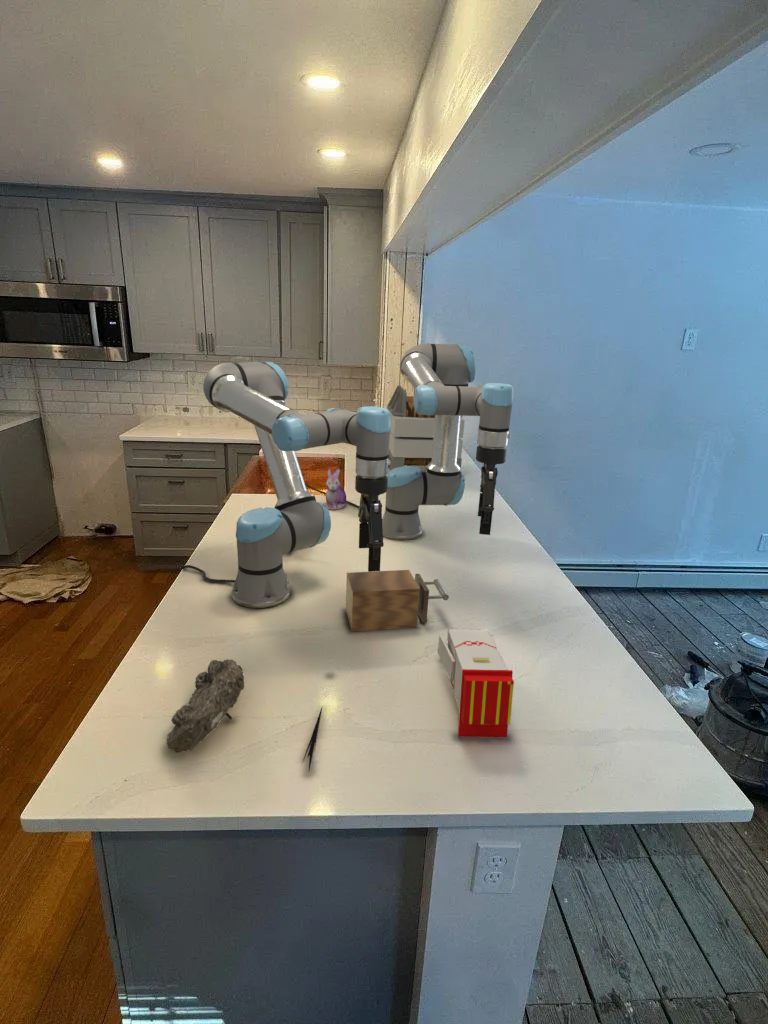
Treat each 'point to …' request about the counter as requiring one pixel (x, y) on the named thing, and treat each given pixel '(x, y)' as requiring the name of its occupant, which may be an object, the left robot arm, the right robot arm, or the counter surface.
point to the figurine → (334, 492)
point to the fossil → (206, 705)
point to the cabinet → (381, 600)
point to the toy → (478, 682)
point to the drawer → (427, 595)
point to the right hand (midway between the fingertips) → (483, 524)
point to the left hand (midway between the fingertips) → (368, 558)
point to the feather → (313, 740)
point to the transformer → (412, 433)
